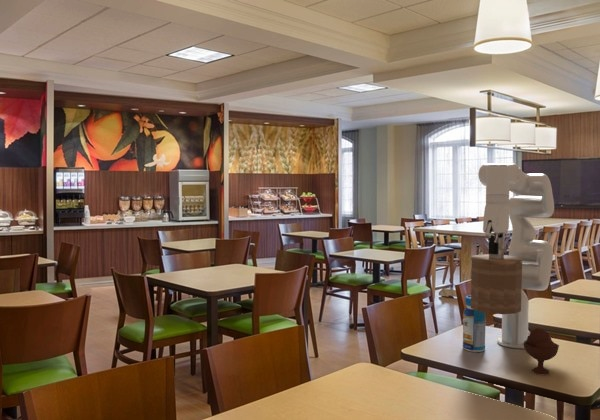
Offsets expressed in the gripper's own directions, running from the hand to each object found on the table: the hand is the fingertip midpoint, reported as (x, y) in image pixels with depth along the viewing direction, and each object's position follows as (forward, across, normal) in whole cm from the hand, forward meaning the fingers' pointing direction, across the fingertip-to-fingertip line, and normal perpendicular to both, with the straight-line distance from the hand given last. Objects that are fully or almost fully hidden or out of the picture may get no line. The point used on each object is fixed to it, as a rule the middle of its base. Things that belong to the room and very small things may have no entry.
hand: (496, 252), depth 187 cm
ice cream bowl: (+39, -4, +14) cm, 42 cm away
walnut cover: (+19, 0, 0) cm, 19 cm away
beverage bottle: (+39, -10, -14) cm, 43 cm away
